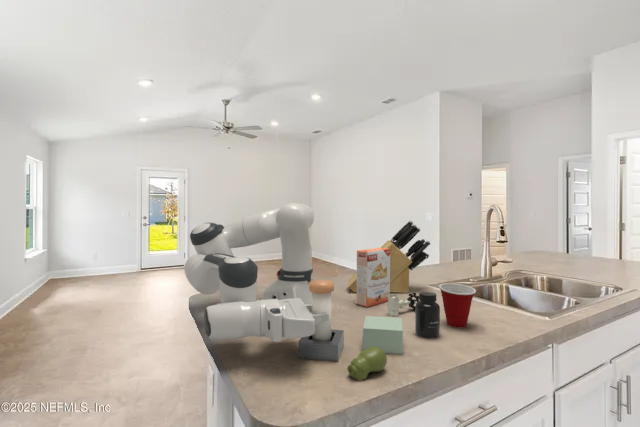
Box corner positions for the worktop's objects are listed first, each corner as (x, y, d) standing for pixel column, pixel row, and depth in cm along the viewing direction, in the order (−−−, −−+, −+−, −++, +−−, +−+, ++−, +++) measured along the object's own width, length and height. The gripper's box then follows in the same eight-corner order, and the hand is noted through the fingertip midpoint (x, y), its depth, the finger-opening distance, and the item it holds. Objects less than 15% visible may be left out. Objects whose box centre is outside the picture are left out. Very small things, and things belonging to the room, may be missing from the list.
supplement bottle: (436, 340, 95) (436, 297, 95) (412, 335, 98) (412, 294, 98) (442, 332, 101) (442, 292, 100) (419, 328, 104) (418, 289, 104)
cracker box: (367, 308, 125) (367, 251, 125) (355, 304, 130) (355, 250, 130) (391, 300, 135) (390, 248, 134) (379, 297, 139) (378, 246, 139)
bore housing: (298, 358, 85) (298, 342, 85) (308, 342, 95) (307, 327, 94) (338, 361, 83) (338, 345, 83) (343, 344, 92) (343, 330, 92)
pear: (390, 347, 77) (357, 367, 72) (393, 369, 78) (360, 390, 72) (373, 339, 82) (340, 357, 76) (376, 360, 82) (344, 378, 77)
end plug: (307, 355, 86) (306, 284, 86) (312, 345, 92) (312, 279, 92) (332, 357, 85) (331, 285, 84) (336, 347, 91) (335, 280, 91)
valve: (394, 318, 114) (421, 313, 119) (394, 298, 114) (421, 294, 119) (382, 312, 120) (409, 308, 125) (382, 294, 120) (409, 290, 125)
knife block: (431, 293, 145) (431, 221, 144) (348, 293, 147) (348, 221, 146) (424, 287, 156) (424, 220, 155) (347, 287, 158) (347, 220, 157)
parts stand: (363, 351, 88) (363, 328, 88) (366, 336, 98) (365, 315, 98) (402, 354, 86) (402, 330, 86) (401, 339, 96) (401, 317, 96)
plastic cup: (457, 333, 100) (457, 292, 100) (431, 321, 110) (431, 285, 110) (484, 327, 104) (484, 288, 104) (457, 317, 114) (457, 281, 114)
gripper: (268, 316, 96) (316, 312, 99) (275, 345, 76) (335, 339, 79) (268, 294, 96) (316, 291, 99) (275, 317, 76) (335, 312, 79)
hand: (325, 312), depth 89 cm, fingers closed on end plug, 5 cm apart
